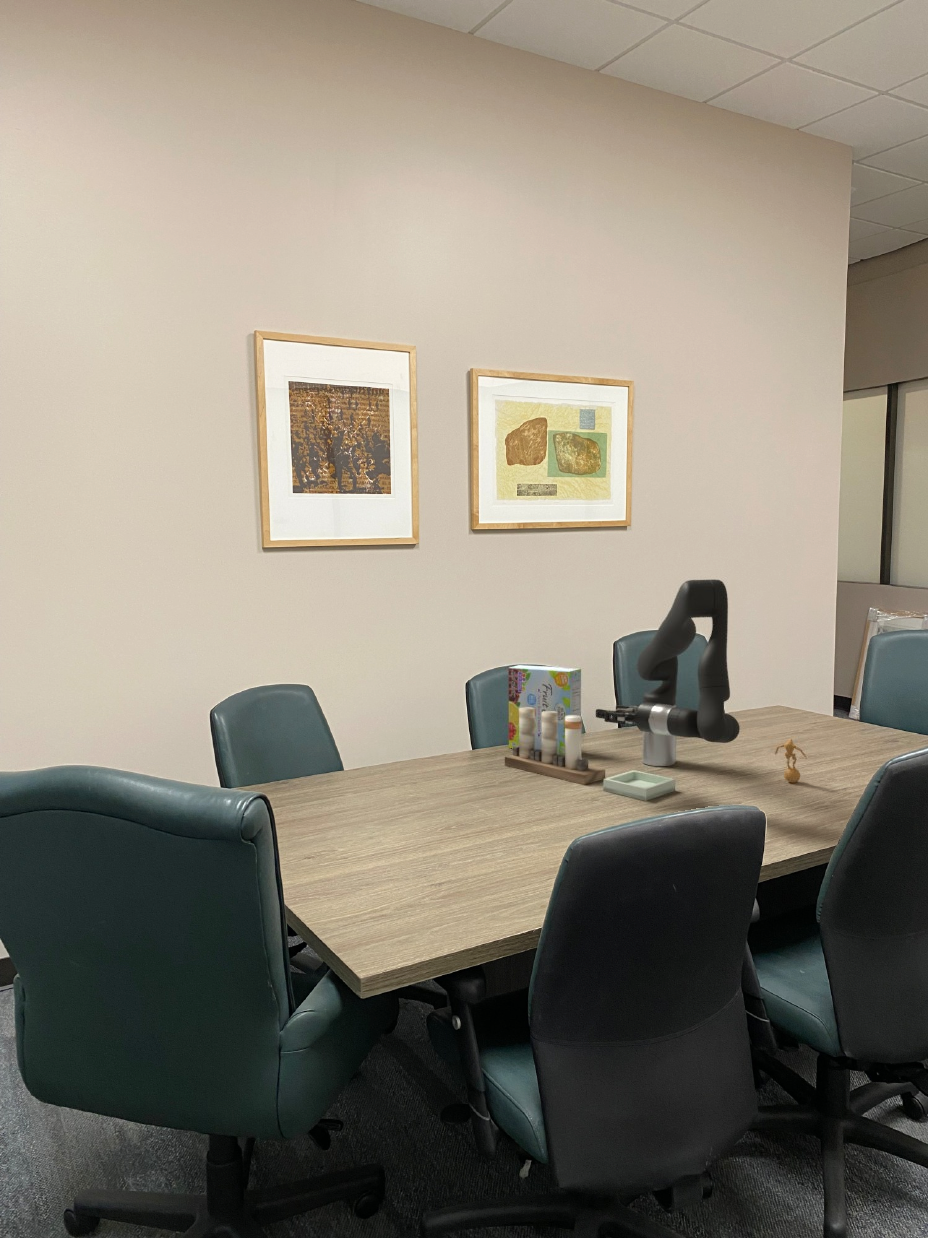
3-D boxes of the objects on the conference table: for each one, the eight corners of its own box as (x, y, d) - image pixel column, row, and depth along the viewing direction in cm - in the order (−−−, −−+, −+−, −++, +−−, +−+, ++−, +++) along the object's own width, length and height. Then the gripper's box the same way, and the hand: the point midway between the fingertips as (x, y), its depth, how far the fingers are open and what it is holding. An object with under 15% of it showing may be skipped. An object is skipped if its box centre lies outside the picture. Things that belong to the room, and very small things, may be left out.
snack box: (582, 751, 268) (583, 668, 266) (570, 757, 261) (570, 671, 259) (520, 743, 280) (520, 663, 278) (507, 748, 273) (506, 666, 271)
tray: (633, 781, 234) (633, 770, 234) (675, 790, 225) (675, 779, 224) (603, 790, 225) (603, 779, 225) (645, 801, 216) (646, 789, 215)
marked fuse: (571, 764, 242) (572, 714, 241) (585, 767, 239) (585, 716, 238) (561, 767, 239) (561, 716, 238) (574, 770, 236) (574, 719, 235)
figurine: (810, 783, 231) (811, 738, 230) (802, 788, 226) (803, 742, 225) (779, 778, 236) (780, 734, 235) (770, 783, 231) (771, 738, 230)
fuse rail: (525, 760, 258) (525, 704, 257) (605, 778, 237) (605, 718, 236) (504, 765, 252) (504, 708, 250) (584, 784, 231) (584, 722, 229)
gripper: (675, 700, 223) (622, 694, 234) (642, 707, 213) (589, 700, 224) (674, 729, 223) (622, 721, 235) (642, 737, 213) (589, 729, 225)
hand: (606, 711), depth 230 cm, fingers open, 8 cm apart
